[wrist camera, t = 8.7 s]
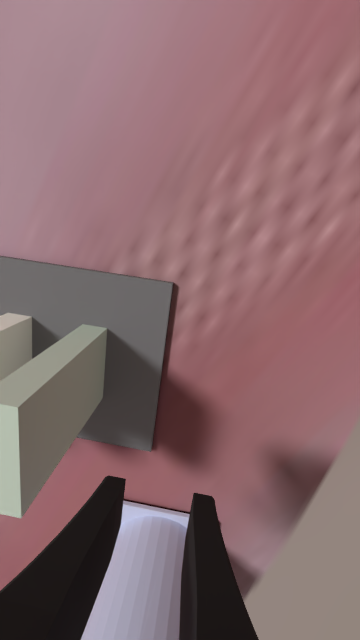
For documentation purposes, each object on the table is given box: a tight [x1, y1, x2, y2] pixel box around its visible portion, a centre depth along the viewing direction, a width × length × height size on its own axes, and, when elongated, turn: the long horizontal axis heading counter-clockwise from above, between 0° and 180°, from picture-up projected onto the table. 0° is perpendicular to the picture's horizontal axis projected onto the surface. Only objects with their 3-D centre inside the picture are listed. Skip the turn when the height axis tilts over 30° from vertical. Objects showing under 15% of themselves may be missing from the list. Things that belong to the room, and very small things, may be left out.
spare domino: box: [0, 324, 107, 518], centre depth 15 cm, size 2×5×9 cm, turn 173°
